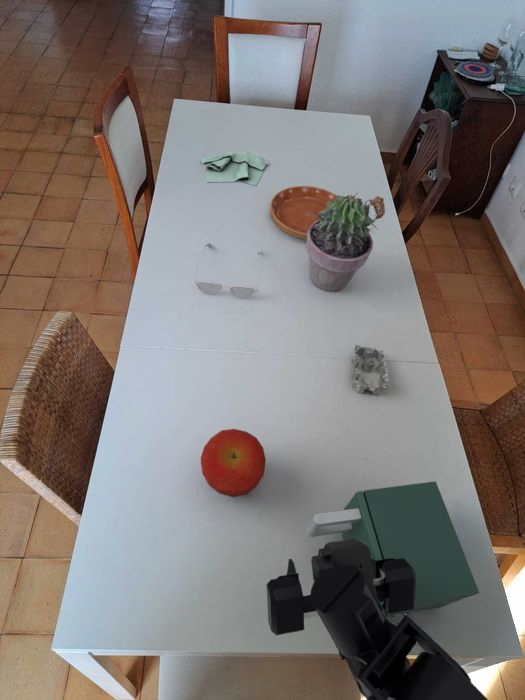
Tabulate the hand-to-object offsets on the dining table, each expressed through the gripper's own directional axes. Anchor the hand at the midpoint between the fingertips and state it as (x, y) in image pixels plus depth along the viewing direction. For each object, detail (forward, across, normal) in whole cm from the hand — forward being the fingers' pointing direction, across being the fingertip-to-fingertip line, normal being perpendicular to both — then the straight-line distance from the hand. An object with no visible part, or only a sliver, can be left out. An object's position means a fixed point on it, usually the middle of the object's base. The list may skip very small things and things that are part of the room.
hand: (321, 556), depth 65 cm
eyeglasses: (+59, +4, -42) cm, 72 cm away
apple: (+20, +10, -4) cm, 23 cm away
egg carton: (+35, -22, -18) cm, 45 cm away
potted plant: (+56, -20, -39) cm, 71 cm away
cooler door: (+8, -4, +8) cm, 12 cm away
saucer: (+73, -21, -56) cm, 94 cm away
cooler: (+8, -15, +8) cm, 19 cm away
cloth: (+91, -2, -74) cm, 118 cm away
